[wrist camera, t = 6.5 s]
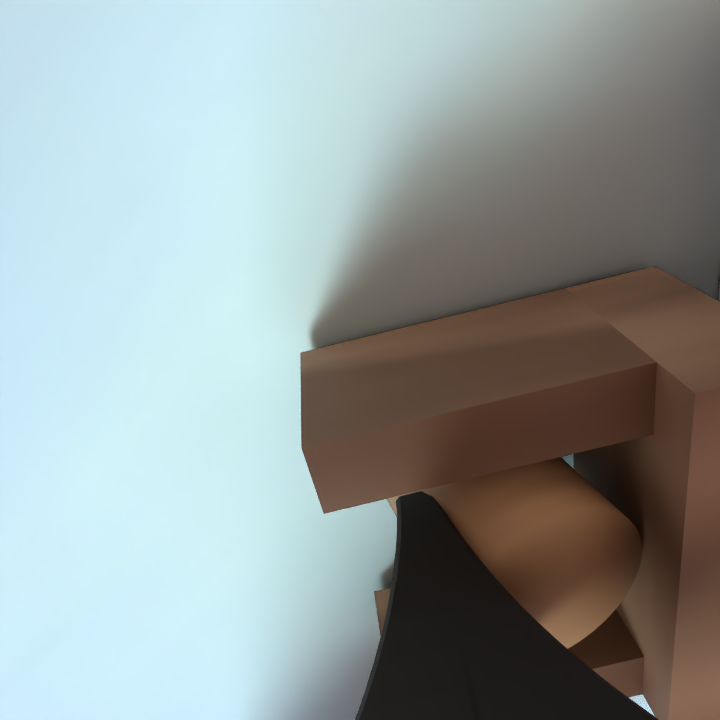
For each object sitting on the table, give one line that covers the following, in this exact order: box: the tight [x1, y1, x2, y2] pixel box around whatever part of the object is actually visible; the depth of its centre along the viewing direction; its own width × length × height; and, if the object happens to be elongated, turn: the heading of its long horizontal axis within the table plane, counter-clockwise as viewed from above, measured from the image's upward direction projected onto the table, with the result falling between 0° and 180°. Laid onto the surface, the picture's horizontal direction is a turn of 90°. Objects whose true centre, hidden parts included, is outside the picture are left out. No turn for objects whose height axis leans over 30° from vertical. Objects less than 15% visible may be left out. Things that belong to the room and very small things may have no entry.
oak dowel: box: [387, 457, 642, 649], centre depth 13 cm, size 4×4×4 cm
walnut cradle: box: [301, 266, 720, 720], centre depth 12 cm, size 10×8×4 cm
